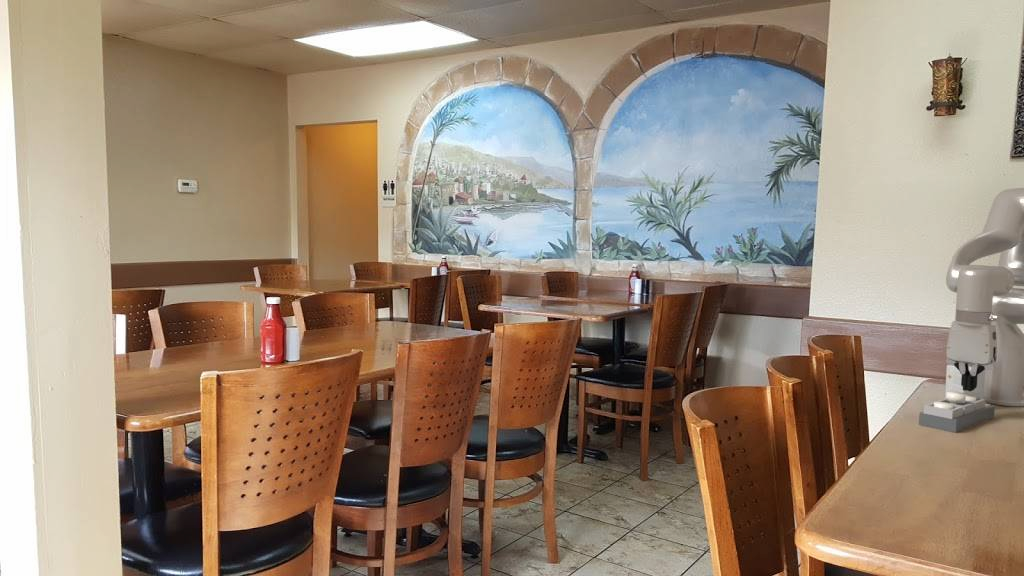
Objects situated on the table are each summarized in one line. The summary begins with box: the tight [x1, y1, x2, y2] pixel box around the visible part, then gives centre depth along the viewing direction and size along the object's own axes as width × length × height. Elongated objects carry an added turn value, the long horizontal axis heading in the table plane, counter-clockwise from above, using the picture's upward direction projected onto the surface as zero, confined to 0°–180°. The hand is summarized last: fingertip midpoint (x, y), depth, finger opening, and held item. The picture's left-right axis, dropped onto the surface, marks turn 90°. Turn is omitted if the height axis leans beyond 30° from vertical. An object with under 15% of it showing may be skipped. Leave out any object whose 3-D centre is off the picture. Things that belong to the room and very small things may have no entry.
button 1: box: [933, 401, 954, 410], centre depth 168 cm, size 4×4×2 cm
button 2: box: [966, 395, 977, 402], centre depth 177 cm, size 4×4×2 cm
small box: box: [944, 364, 985, 399], centre depth 190 cm, size 8×6×10 cm
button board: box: [918, 397, 996, 434], centre depth 174 cm, size 24×8×5 cm, turn 128°
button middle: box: [946, 391, 966, 403], centre depth 173 cm, size 4×4×2 cm
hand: (968, 389), depth 177 cm, fingers closed
